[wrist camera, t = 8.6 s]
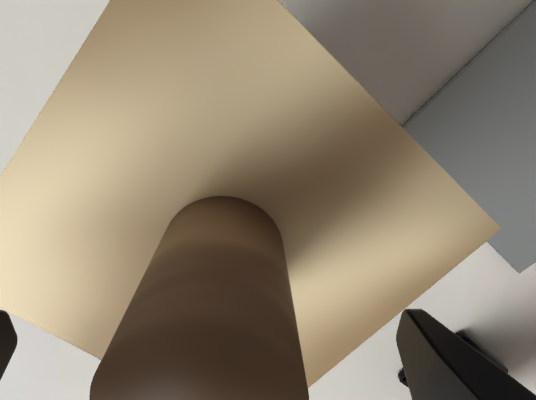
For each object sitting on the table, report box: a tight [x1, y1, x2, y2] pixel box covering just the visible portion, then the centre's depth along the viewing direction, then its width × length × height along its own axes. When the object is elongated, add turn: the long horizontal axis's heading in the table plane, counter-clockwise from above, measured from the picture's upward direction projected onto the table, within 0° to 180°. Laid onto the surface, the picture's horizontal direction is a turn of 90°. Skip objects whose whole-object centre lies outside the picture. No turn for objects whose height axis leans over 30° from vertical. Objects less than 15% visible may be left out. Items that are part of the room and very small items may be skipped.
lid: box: [0, 0, 502, 400], centre depth 8 cm, size 12×12×6 cm
